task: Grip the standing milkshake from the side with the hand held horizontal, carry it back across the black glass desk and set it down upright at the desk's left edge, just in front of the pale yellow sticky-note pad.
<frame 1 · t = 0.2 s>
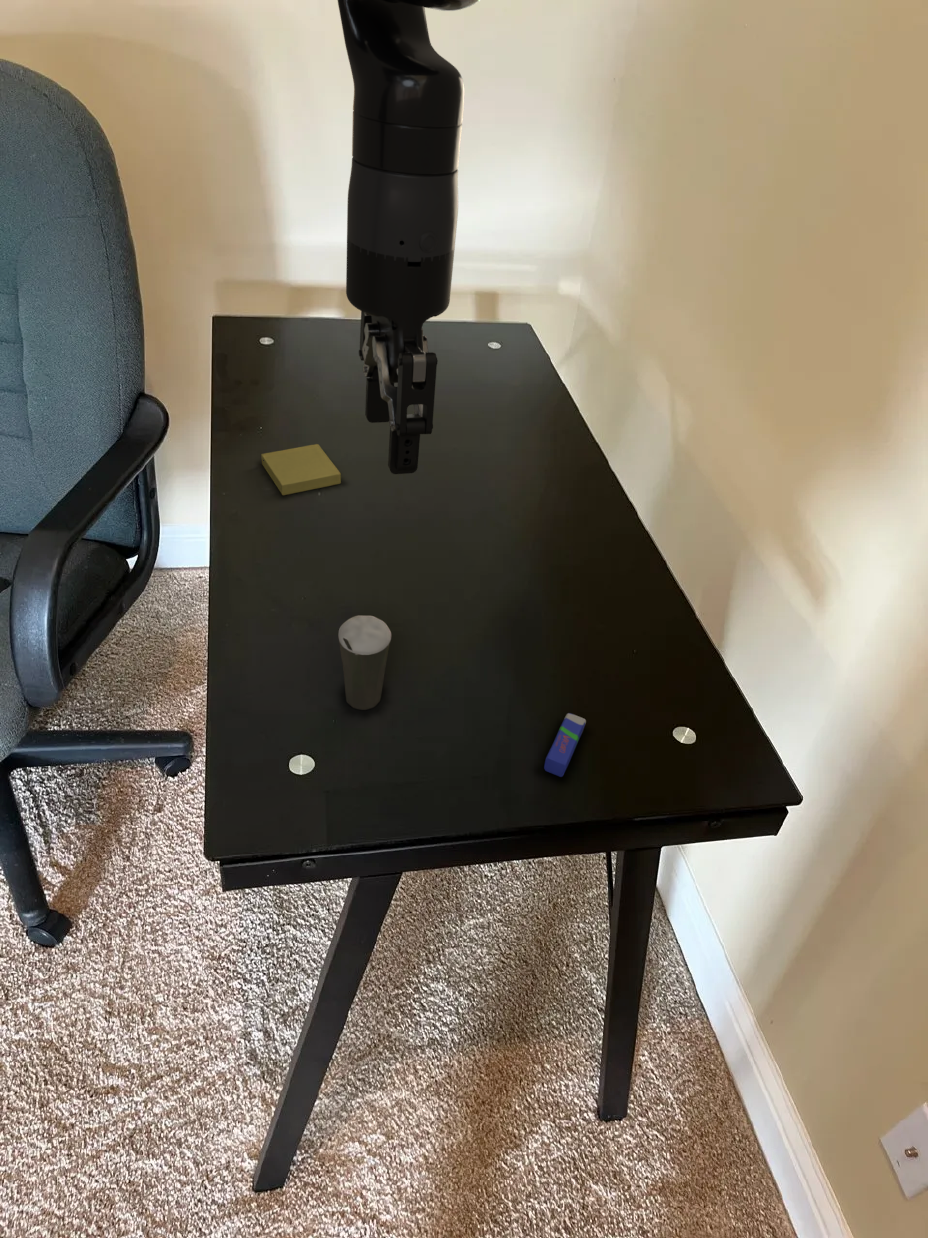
hand: (390, 444, 68), 23 cm above the table, tool pointing down, fingers open, 8 cm apart
milkshake: (360, 701, 77), on the table
note pad: (301, 473, 104), on the table
eraser: (562, 753, 75), on the table
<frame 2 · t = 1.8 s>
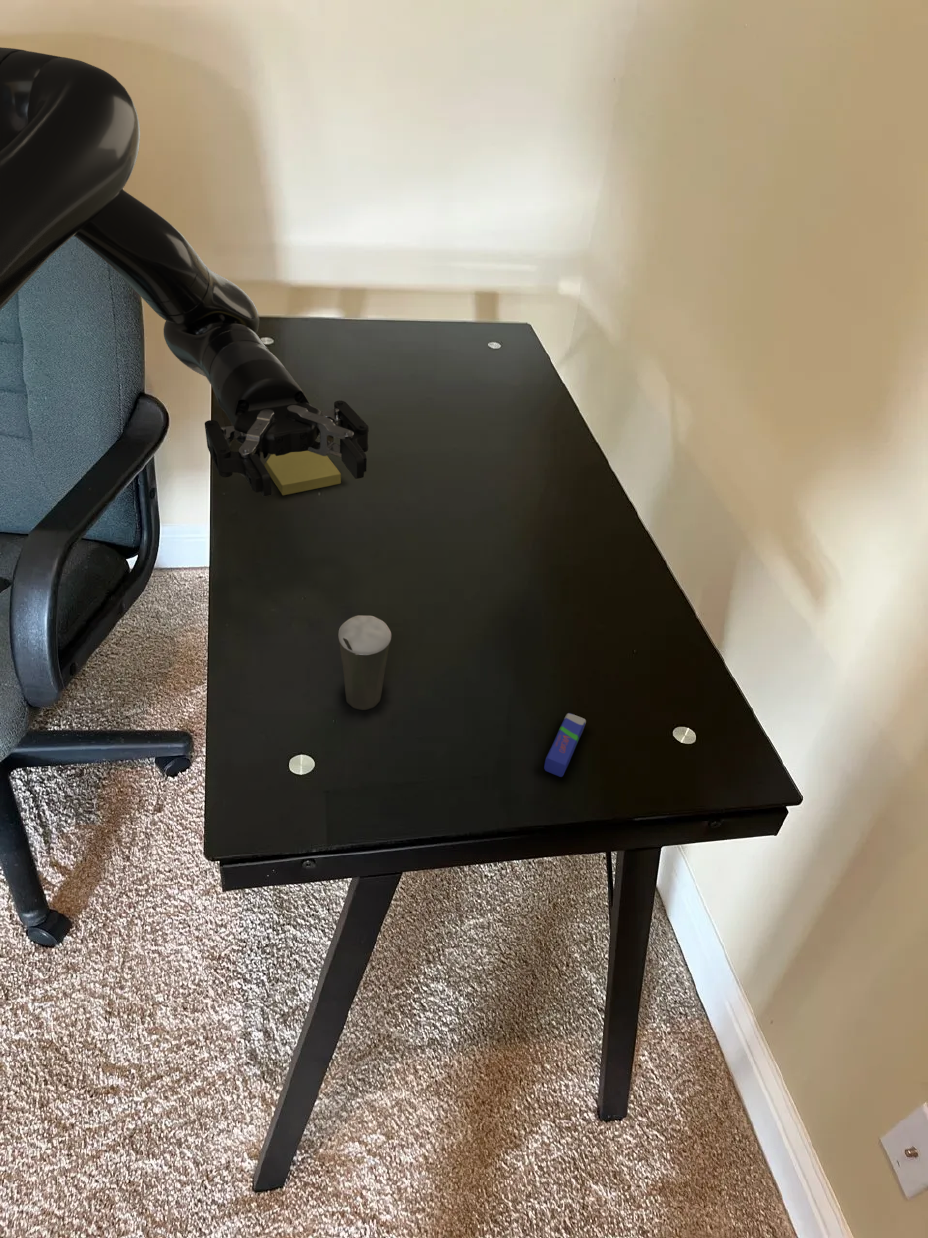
hand: (315, 478, 72), 17 cm above the table, tool horizontal, fingers open, 8 cm apart
nothing on the table moved.
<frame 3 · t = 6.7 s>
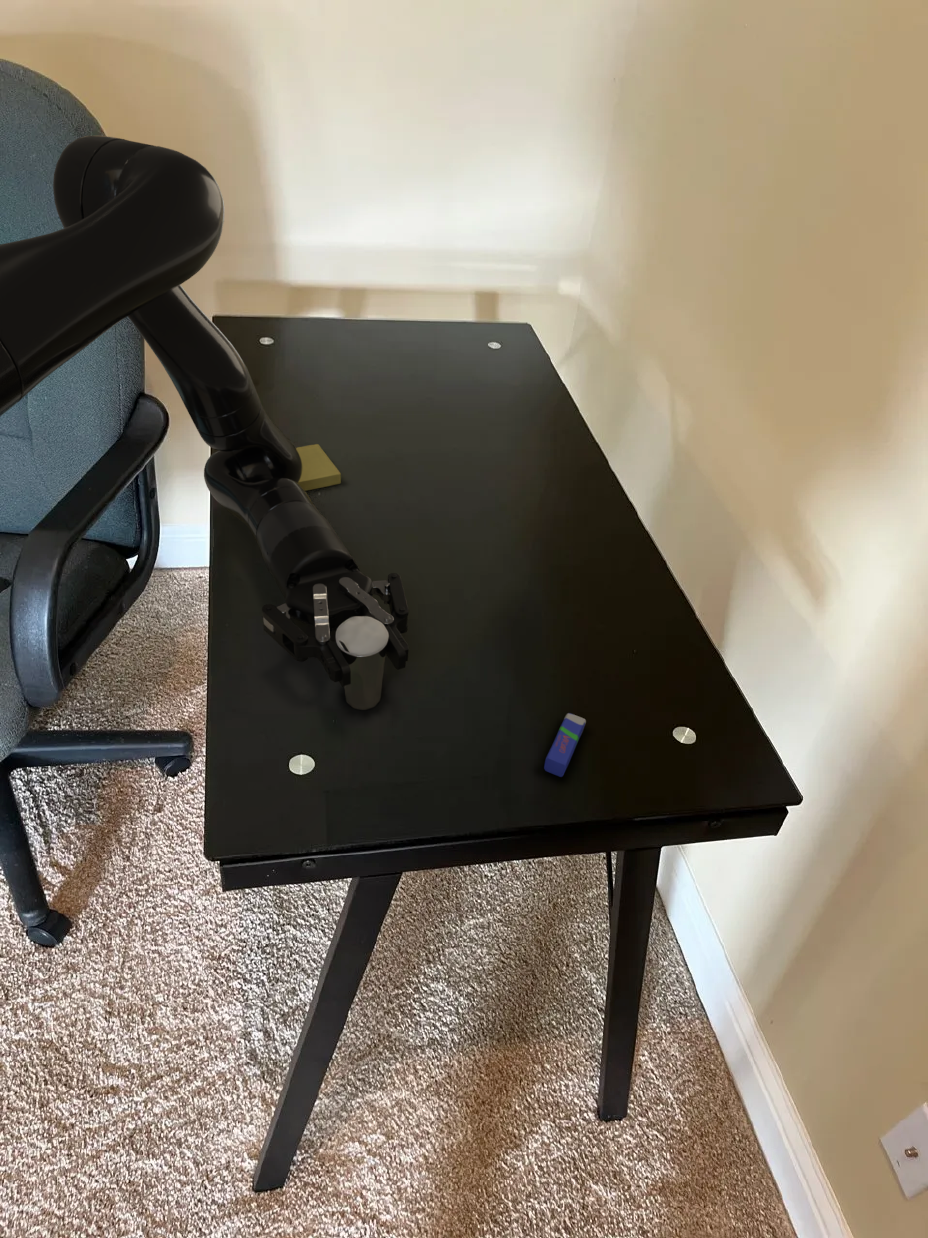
hand: (374, 669, 71), 7 cm above the table, tool horizontal, fingers closed on milkshake, 4 cm apart
milkshake: (360, 701, 77), on the table, touching gripper
everything else where it was.
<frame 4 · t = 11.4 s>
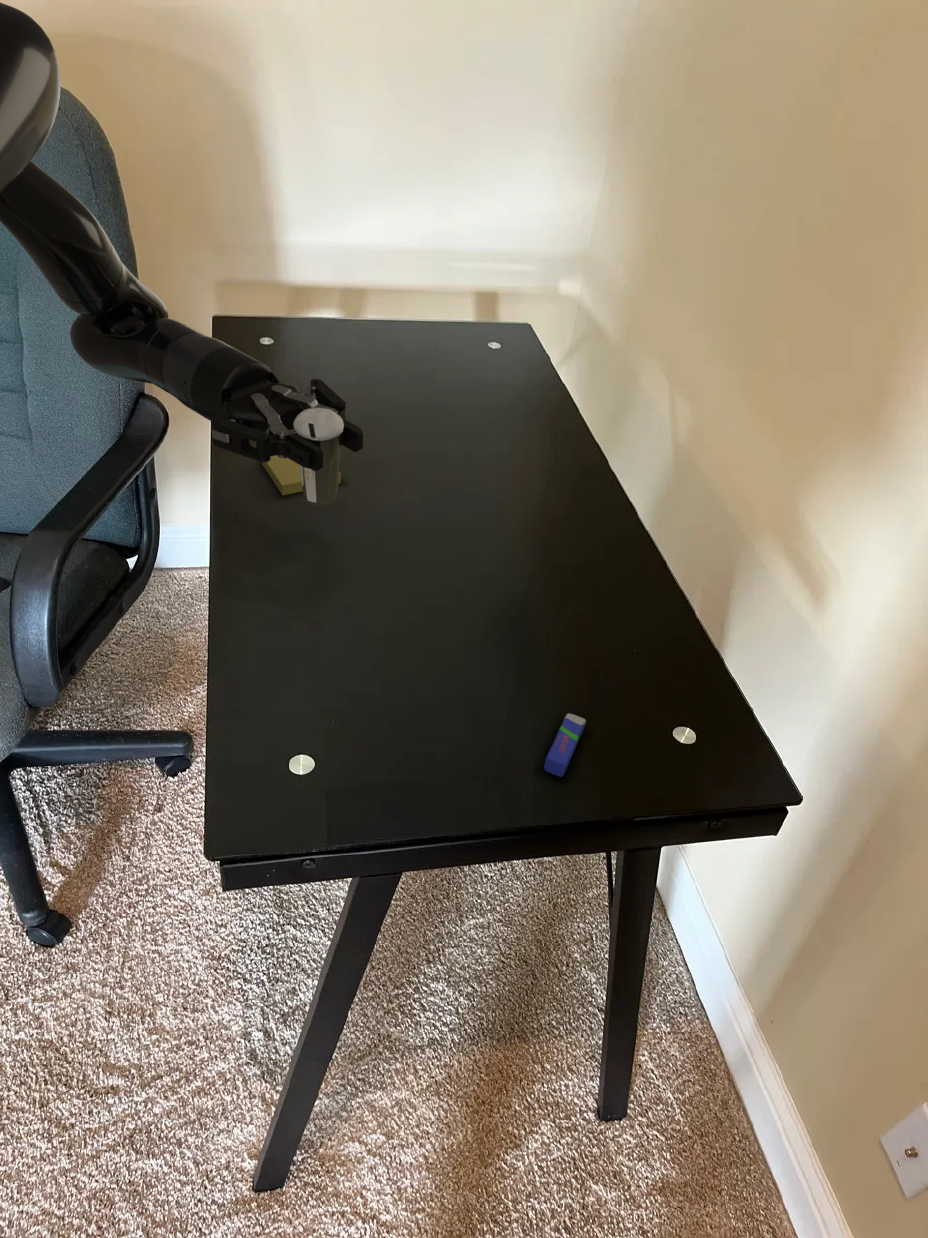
hand: (340, 451, 76), 17 cm above the table, tool horizontal, fingers closed on milkshake, 4 cm apart
milkshake: (319, 499, 81), point 11 cm above the table, touching gripper
everything else where it was.
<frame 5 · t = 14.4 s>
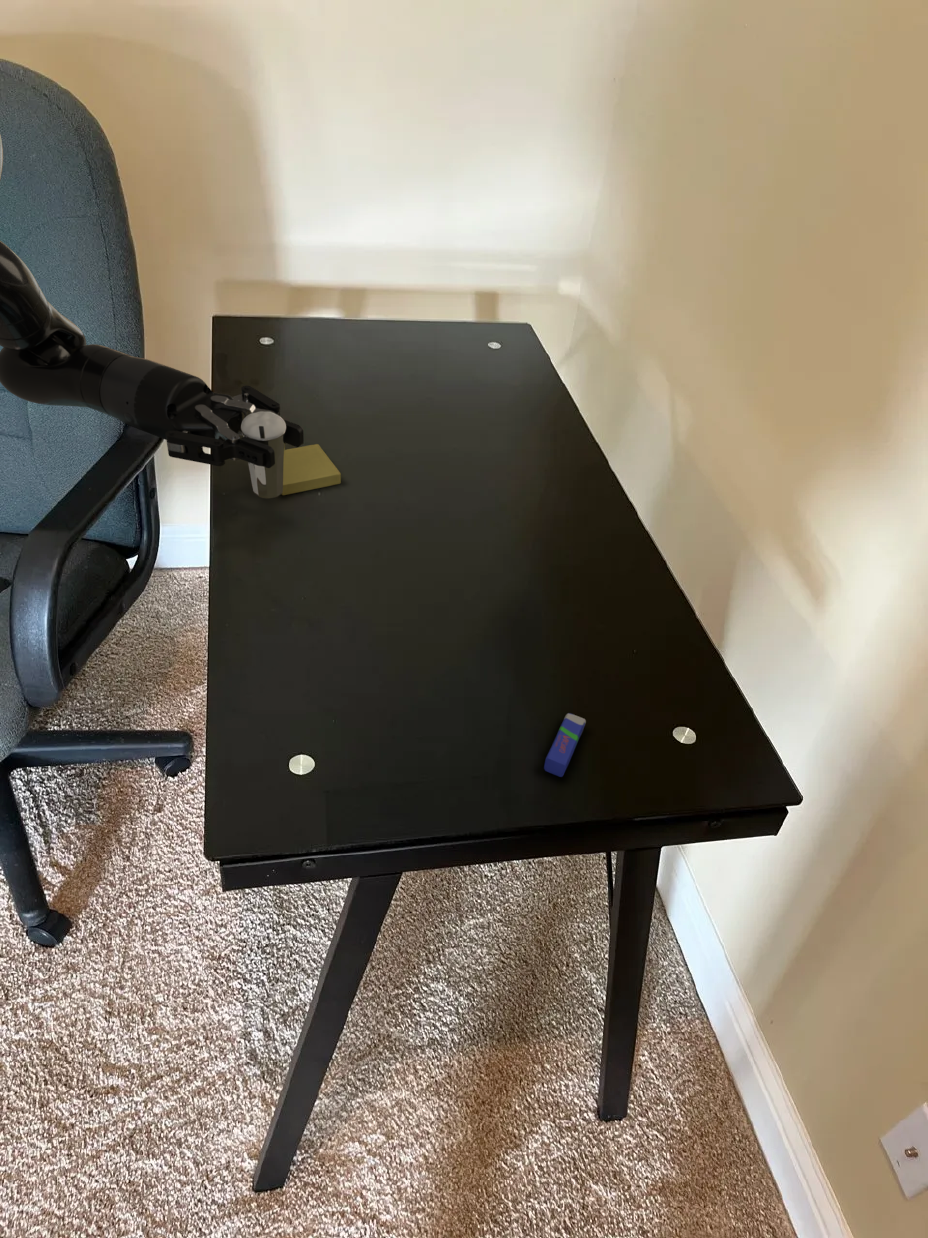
hand: (286, 447, 86), 12 cm above the table, tool horizontal, fingers closed on milkshake, 4 cm apart
milkshake: (268, 493, 91), point 5 cm above the table, touching gripper
everything else where it was.
when the fingers open (7 cm above the table, at t = 16.3 s): milkshake stays where it is, on the table.
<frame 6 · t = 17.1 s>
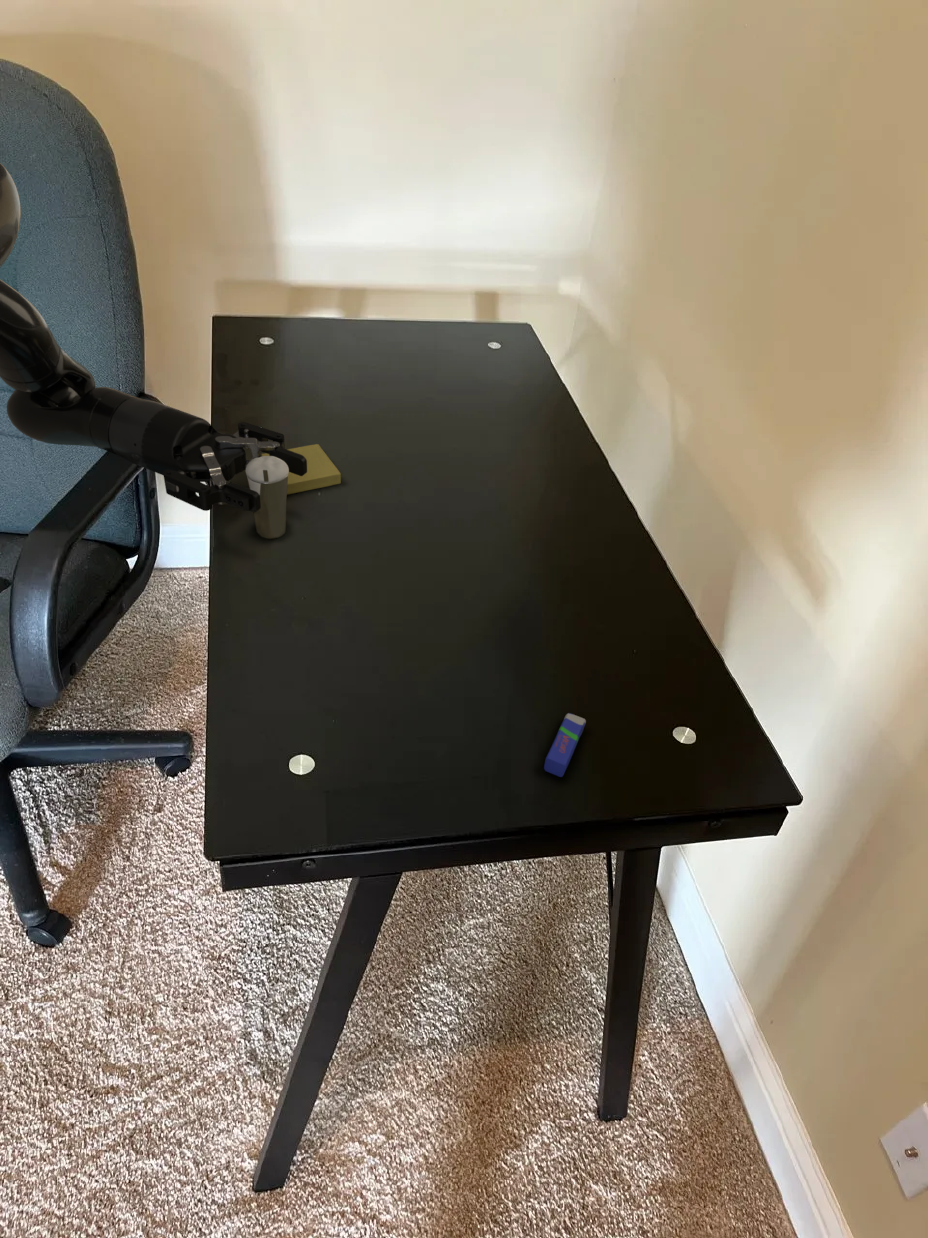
hand: (282, 484, 89), 7 cm above the table, tool horizontal, fingers open, 8 cm apart
milkshake: (271, 534, 94), on the table
everything else where it was.
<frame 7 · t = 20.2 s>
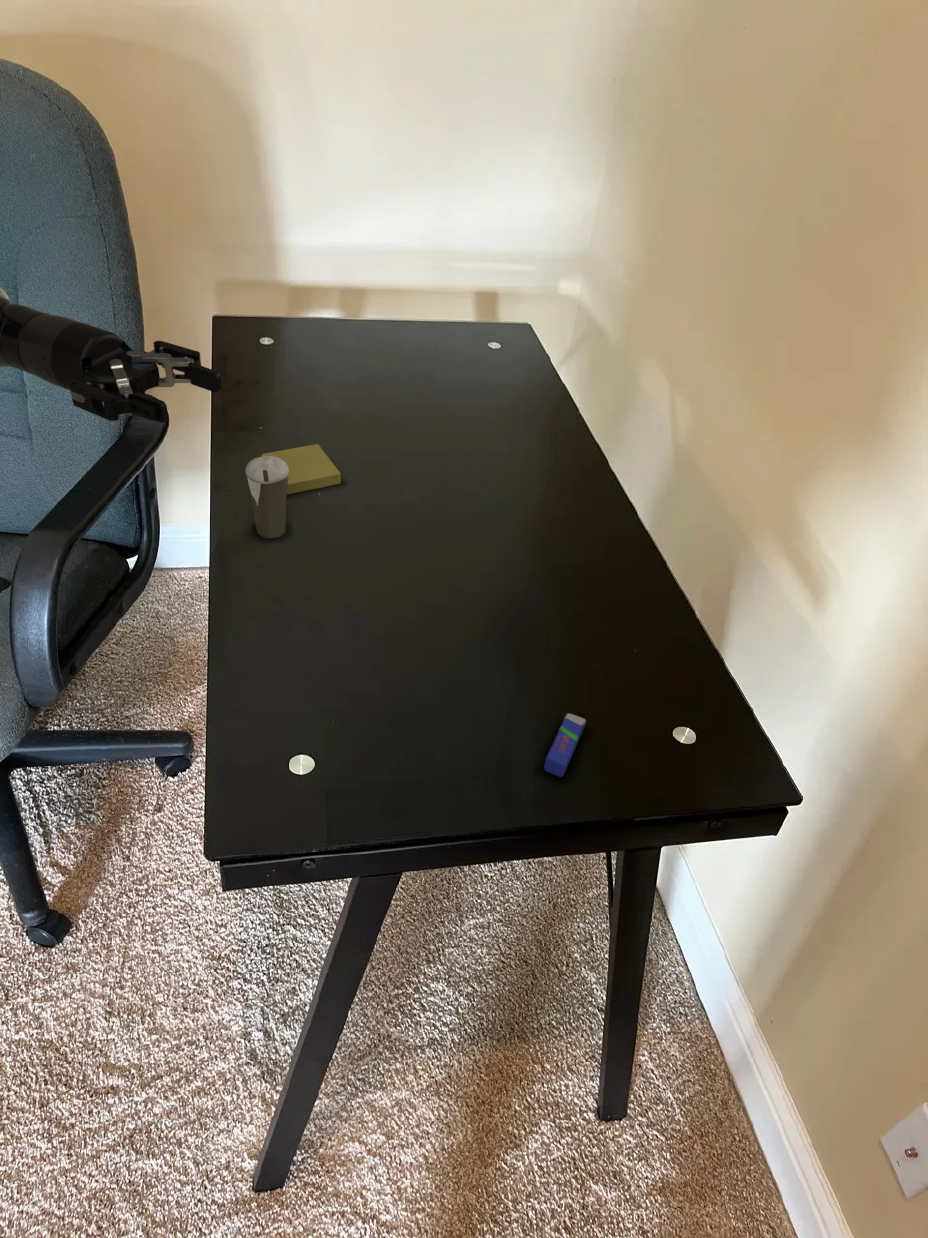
hand: (193, 397, 87), 14 cm above the table, tool horizontal, fingers open, 8 cm apart
nothing on the table moved.
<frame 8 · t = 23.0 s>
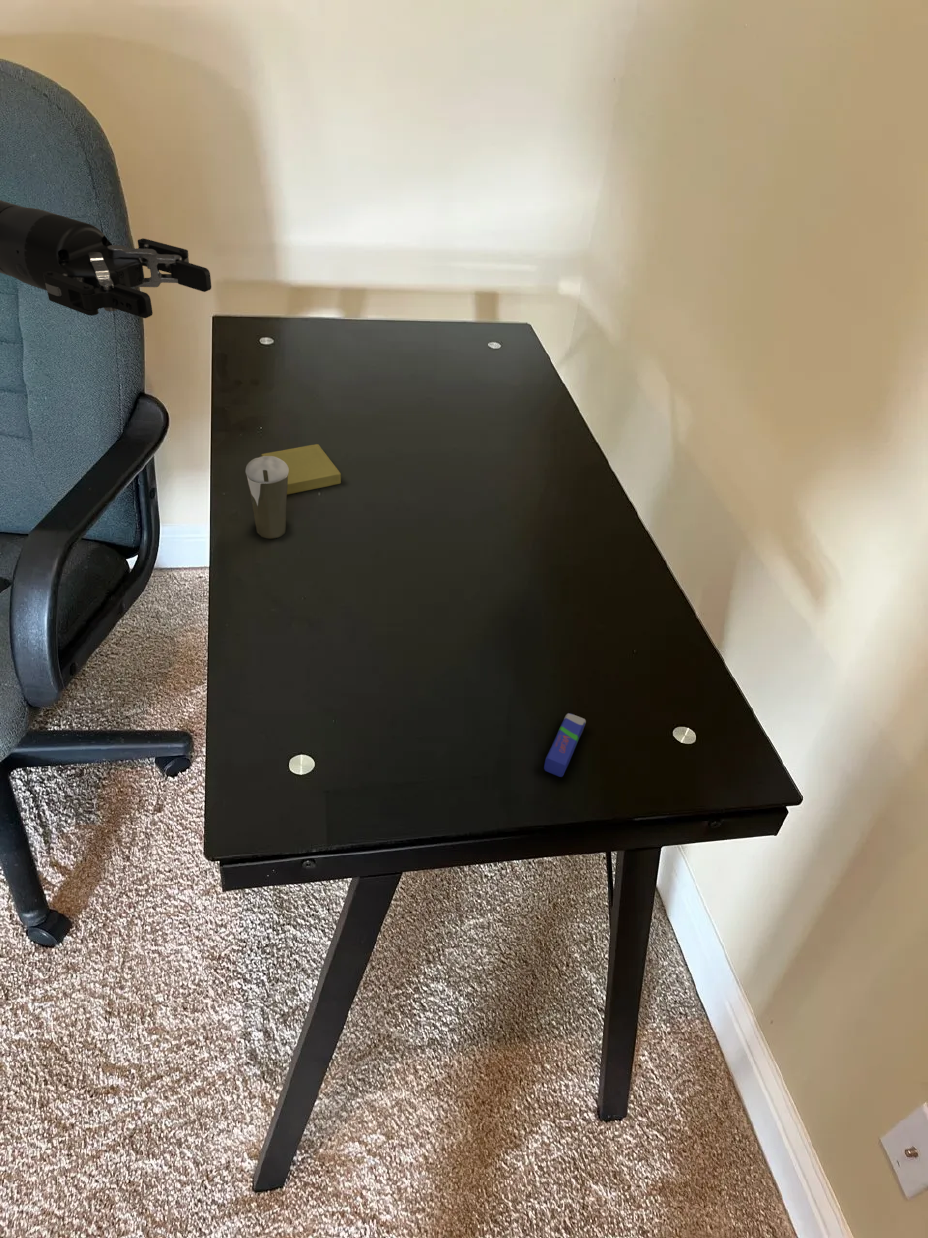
hand: (180, 293, 80), 25 cm above the table, tool horizontal, fingers open, 8 cm apart
nothing on the table moved.
at the end: milkshake inside the target area on the table beside the note pad (0.1 cm from its centre), on the table; milkshake tilted 0°; the gripper is holding nothing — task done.
